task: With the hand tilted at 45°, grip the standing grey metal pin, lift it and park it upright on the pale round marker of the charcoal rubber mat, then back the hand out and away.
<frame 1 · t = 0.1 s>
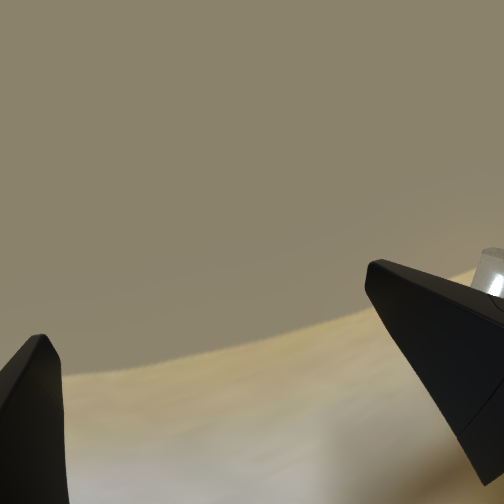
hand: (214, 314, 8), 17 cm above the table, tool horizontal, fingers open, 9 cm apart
metal pin: (454, 375, 22), on the table
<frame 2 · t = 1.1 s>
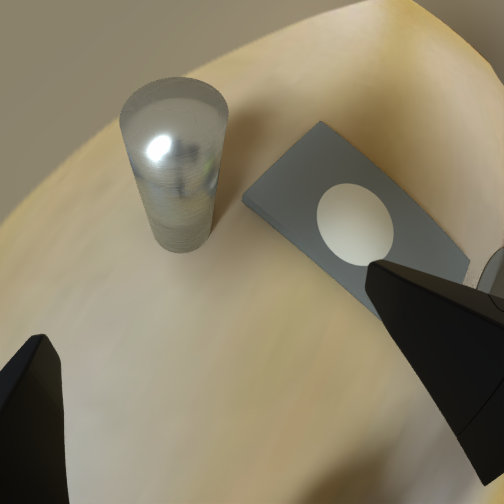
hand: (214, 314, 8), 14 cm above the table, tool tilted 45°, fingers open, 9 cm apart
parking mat: (373, 235, 25), on the table
metal pin: (181, 224, 22), on the table
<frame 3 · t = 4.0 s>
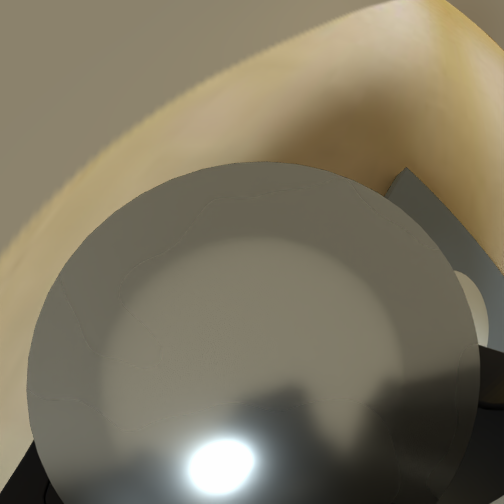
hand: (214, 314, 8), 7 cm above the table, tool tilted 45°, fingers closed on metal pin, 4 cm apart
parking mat: (464, 335, 16), on the table
metal pin: (214, 357, 13), on the table, touching gripper
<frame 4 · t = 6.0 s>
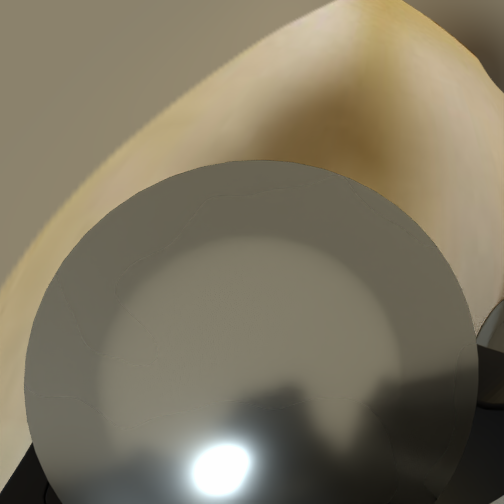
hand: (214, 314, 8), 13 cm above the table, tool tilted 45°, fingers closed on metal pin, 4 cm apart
metal pin: (213, 356, 13), point 7 cm above the table, touching gripper
when the fingers open (9 cm above the table, at t = 8.2 s): metal pin drops 1 cm, resting on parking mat.
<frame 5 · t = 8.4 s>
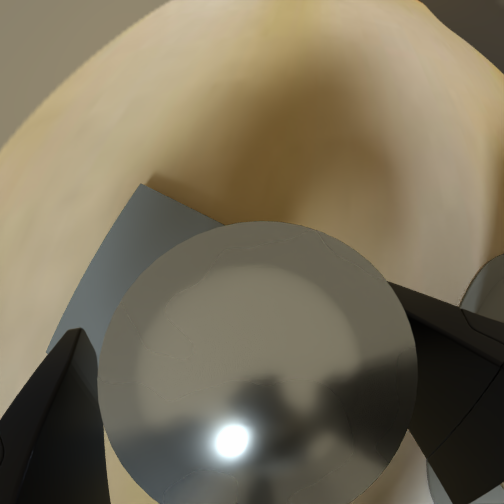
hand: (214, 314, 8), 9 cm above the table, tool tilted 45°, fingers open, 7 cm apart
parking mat: (252, 354, 16), on the table
metal pin: (211, 357, 15), point 1 cm above the table, touching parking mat
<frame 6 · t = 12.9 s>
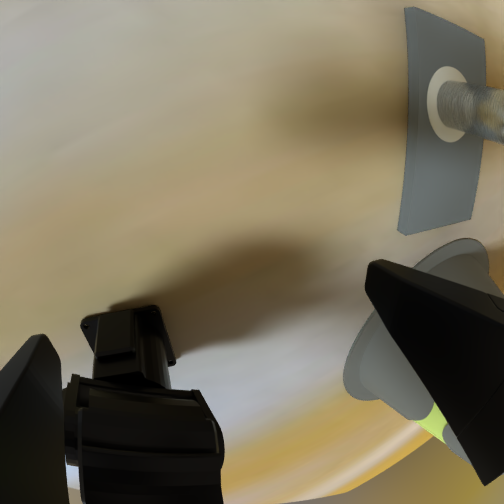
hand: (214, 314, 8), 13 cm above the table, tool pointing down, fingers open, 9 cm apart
grey tapered cylinder: (426, 327, 37), on the table
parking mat: (446, 124, 23), on the table
metal pin: (451, 104, 20), point 1 cm above the table, touching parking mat
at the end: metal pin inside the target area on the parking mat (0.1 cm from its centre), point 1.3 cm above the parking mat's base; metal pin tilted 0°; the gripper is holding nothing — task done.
